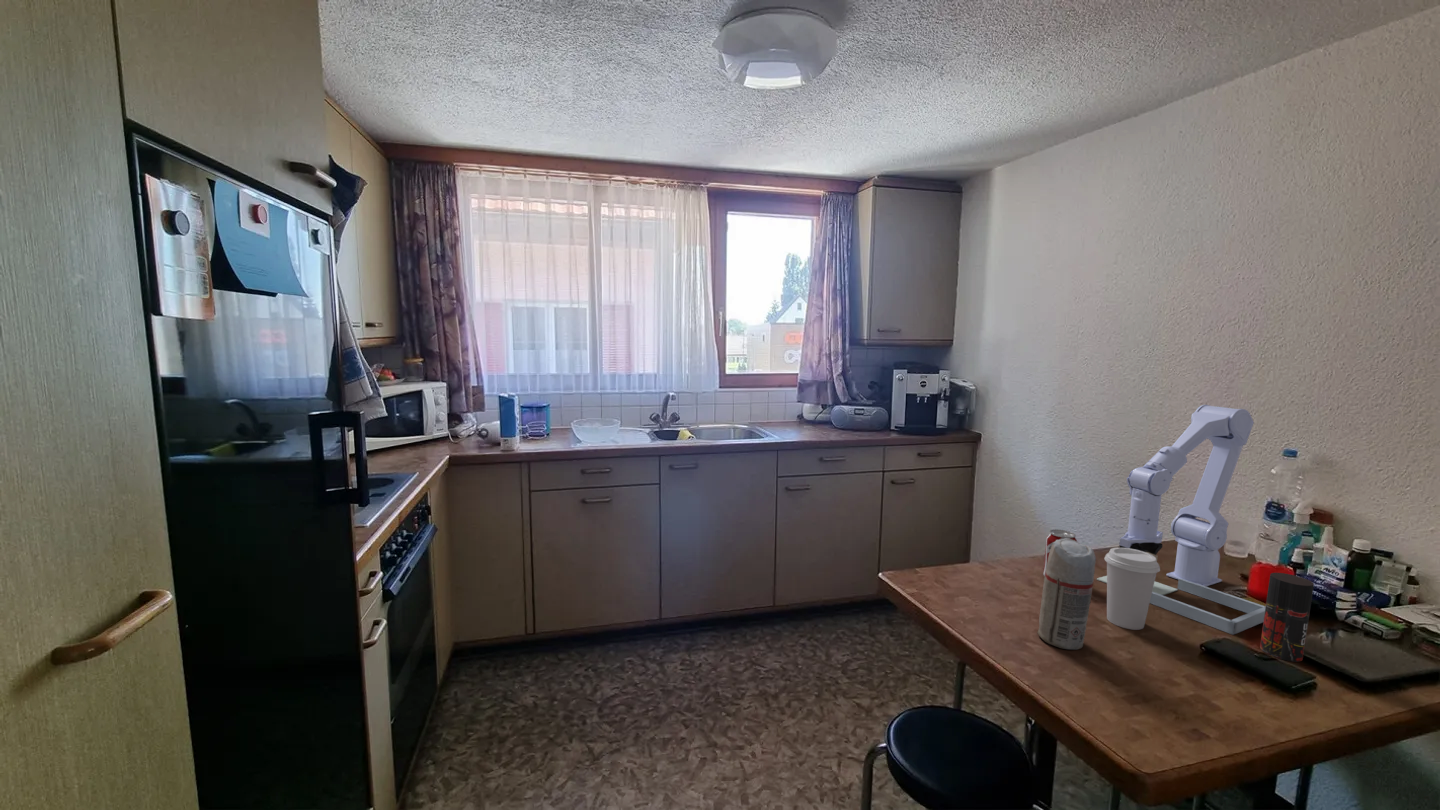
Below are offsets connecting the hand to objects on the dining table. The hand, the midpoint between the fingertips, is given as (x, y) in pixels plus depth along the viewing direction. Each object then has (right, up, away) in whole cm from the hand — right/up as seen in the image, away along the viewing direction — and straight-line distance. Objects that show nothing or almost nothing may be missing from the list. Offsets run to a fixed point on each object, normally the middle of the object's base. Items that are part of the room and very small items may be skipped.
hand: (1137, 571), depth 141 cm
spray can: (-35, -6, -27) cm, 44 cm away
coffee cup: (-16, -6, -19) cm, 25 cm away
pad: (0, -4, 0) cm, 3 cm away
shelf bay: (+6, -5, -12) cm, 14 cm away
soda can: (-18, -3, +3) cm, 18 cm away
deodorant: (+6, -8, -30) cm, 31 cm away
